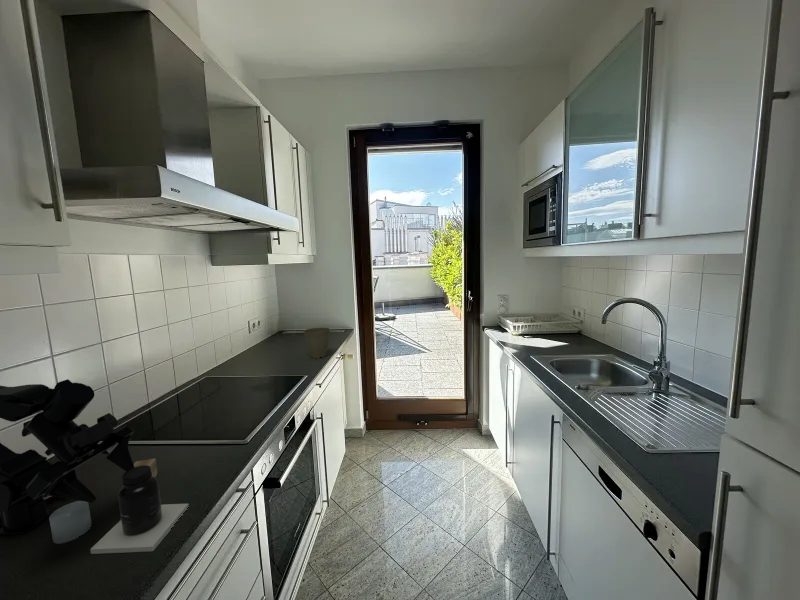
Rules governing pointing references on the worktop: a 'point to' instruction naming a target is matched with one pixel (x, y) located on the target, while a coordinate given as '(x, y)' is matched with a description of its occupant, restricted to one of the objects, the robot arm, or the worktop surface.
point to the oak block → (149, 463)
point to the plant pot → (317, 341)
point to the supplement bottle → (139, 501)
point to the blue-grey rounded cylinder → (70, 522)
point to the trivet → (141, 542)
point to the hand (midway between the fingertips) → (115, 485)
